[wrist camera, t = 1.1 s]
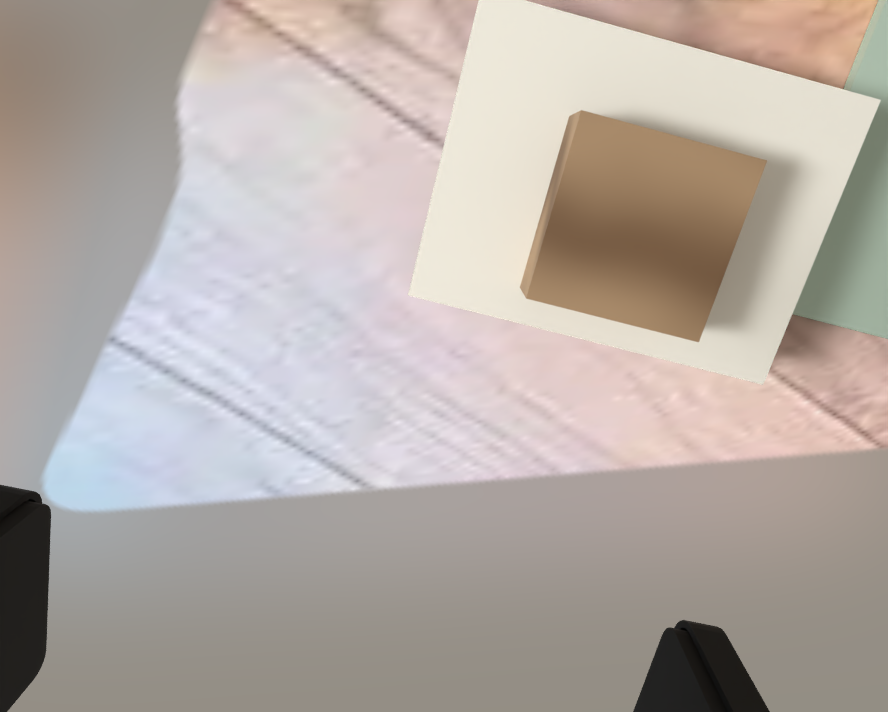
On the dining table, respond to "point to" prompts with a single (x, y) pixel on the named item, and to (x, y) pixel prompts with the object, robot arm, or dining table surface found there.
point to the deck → (648, 105)
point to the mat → (858, 212)
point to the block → (639, 225)
